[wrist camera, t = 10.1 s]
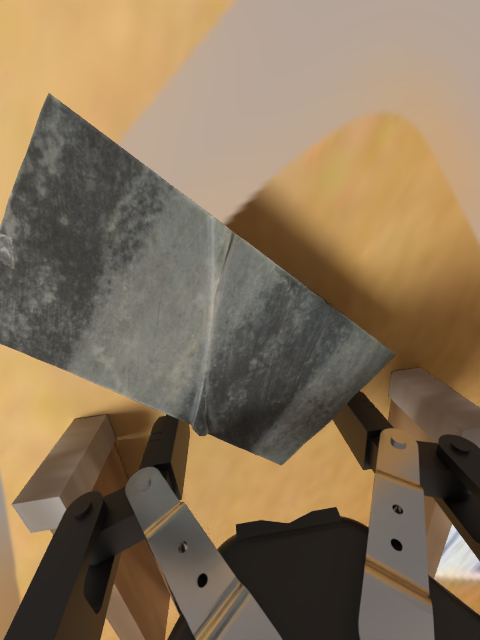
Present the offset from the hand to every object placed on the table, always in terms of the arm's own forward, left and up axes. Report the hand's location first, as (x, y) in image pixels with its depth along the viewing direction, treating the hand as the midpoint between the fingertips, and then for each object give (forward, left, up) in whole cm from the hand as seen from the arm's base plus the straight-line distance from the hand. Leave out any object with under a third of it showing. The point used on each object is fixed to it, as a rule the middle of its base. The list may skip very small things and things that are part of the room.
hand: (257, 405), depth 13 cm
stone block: (+2, -5, -3) cm, 6 cm away
